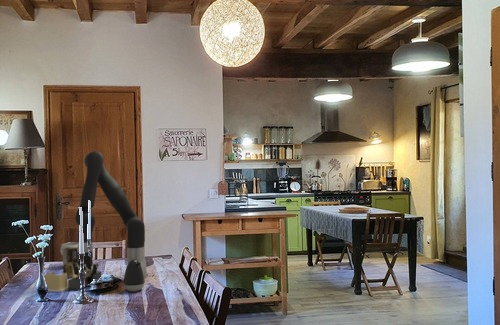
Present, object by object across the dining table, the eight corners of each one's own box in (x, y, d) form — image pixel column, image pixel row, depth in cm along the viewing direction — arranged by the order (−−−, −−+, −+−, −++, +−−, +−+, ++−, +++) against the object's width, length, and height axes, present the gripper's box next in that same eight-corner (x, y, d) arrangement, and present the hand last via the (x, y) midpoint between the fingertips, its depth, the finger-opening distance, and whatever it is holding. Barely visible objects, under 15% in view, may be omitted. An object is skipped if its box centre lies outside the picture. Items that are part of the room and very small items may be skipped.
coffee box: (83, 275, 278) (82, 246, 278) (78, 277, 272) (77, 248, 272) (68, 275, 279) (67, 247, 279) (62, 277, 272) (62, 248, 273)
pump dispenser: (131, 294, 231) (130, 262, 231) (119, 290, 238) (119, 260, 238) (149, 289, 239) (148, 259, 239) (137, 286, 246) (136, 256, 246)
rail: (101, 280, 262) (101, 271, 262) (77, 290, 241) (76, 280, 241) (93, 280, 264) (93, 271, 264) (68, 290, 242) (68, 280, 242)
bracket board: (96, 278, 268) (96, 263, 268) (61, 291, 239) (61, 275, 239) (77, 277, 271) (77, 263, 271) (41, 290, 242) (40, 274, 242)
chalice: (60, 266, 304) (59, 243, 304) (83, 264, 310) (82, 241, 310) (61, 270, 291) (60, 246, 292) (85, 268, 297) (85, 243, 297)
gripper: (101, 249, 254) (101, 282, 254) (77, 249, 258) (77, 280, 258) (93, 252, 247) (93, 285, 247) (68, 251, 251) (69, 284, 251)
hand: (85, 283), depth 252 cm, fingers closed on rail, 5 cm apart
